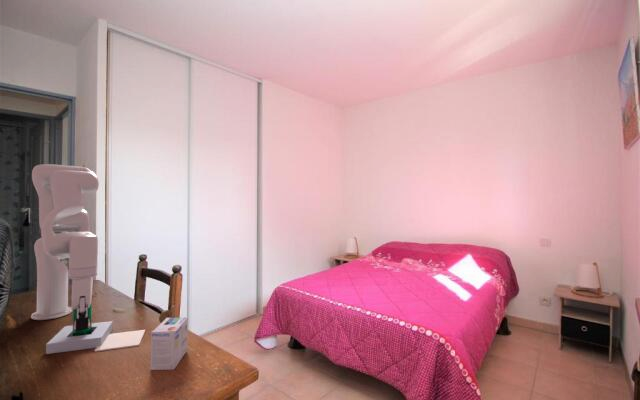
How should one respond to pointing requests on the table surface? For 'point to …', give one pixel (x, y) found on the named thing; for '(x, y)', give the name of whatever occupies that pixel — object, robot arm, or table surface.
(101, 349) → the mat
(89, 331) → the soda can
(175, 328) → the light bulb box
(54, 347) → the collar
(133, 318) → the table surface
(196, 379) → the table surface
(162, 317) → the snail figurine
